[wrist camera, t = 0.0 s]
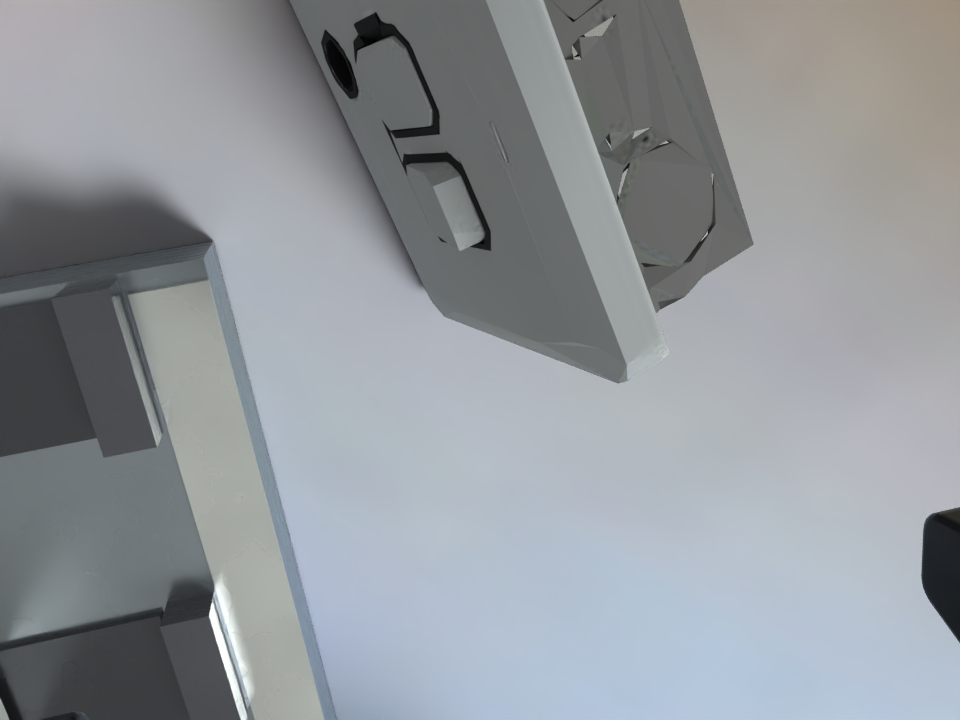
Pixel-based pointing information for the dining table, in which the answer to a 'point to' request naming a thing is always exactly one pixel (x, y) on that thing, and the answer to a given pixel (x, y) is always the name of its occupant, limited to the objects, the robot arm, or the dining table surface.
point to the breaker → (3, 712)
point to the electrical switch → (539, 162)
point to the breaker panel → (142, 505)
